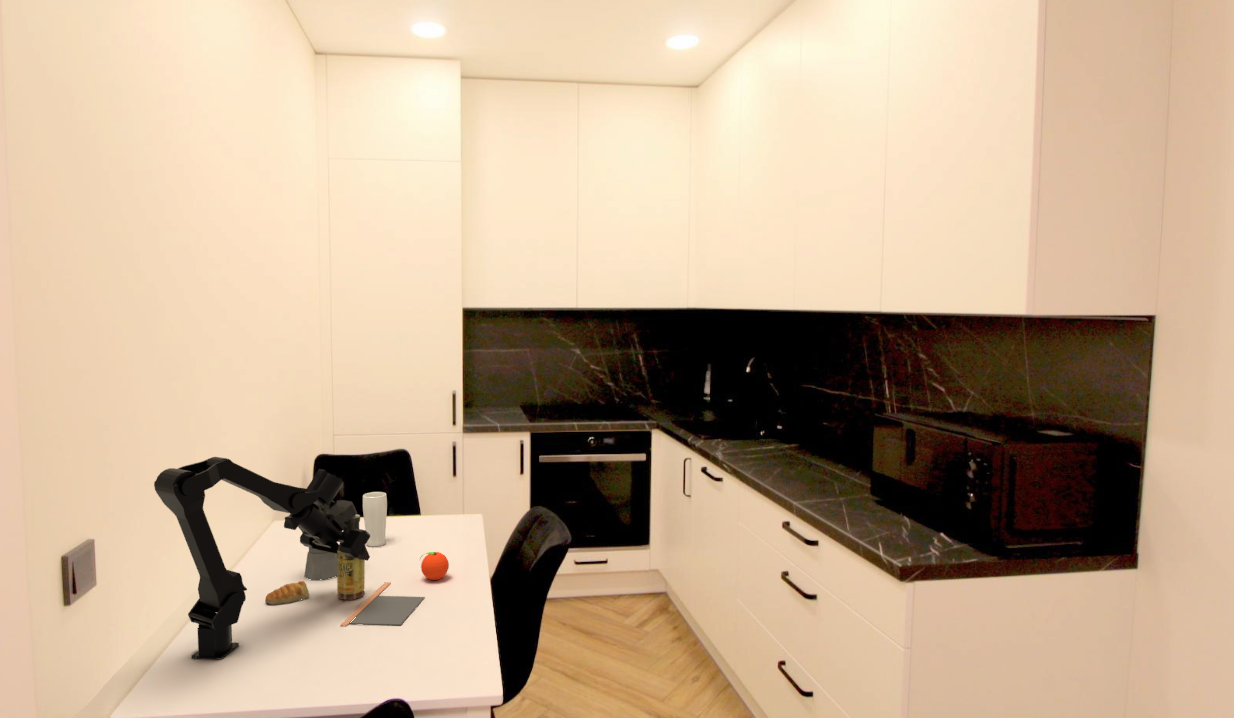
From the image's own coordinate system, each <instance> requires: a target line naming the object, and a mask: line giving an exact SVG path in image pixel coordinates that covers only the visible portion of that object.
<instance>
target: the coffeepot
mask: <svg viewBox="0 0 1234 718" xmlns="http://www.w3.org/2000/svg"><path fill="white" fill-rule="evenodd" d="M318 507H319V508H320V509H321V510H322V511H323V512H325V510H324V506H323V507H322V506H318ZM297 528H298V529H299V530H300V531H301V533H303V532H304V530H303V529H302V528H300V527H299V526H298V527H297ZM335 576H337V554H336V553H331V552H326V551H322V550H317V549H313V548H310V547H308V551H307V554H306V562H305V569H304V578H306V579H307V578H308V579H307V580H309V579H311V580H310V581H321V580H320V579H327V580H329V579H328V578H331V579H333V578H332V577H334V578H336V577H335Z"/></svg>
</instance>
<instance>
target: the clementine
mask: <svg viewBox="0 0 1234 718" xmlns="http://www.w3.org/2000/svg"><path fill="white" fill-rule="evenodd" d="M425 555H426V556H424V554H422V555H421V556H420V558H419V560H421V559H422V557H423V556H424V558H423V559H422V561H421V564H420V568H421V572H422V575H423V576H424V577H425V578H427V579H428V580H432V581H437V580H441V579H442V578H443V577H445V575H447V572H448V571H449V567H450V564H449V560H448V558H447V556H446V555H445V554H443V553H442V552H440V551H439V552H438V551H428V552H426V553H425Z"/></svg>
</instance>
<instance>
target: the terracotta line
mask: <svg viewBox="0 0 1234 718" xmlns="http://www.w3.org/2000/svg"><path fill="white" fill-rule="evenodd" d="M391 583H392V582H389V581H388V582H384V583H383V584H381V585H380V586H379V587H378V588H377V589H376V590H375V591H374V592H373V593H372V594H371V595H369V597H368V598H367V599H366V600H364V602H362V603H361V604H360V605H359V606H358V607H357V608H356V609H355V610H354V611H353V612H352V613H351V614H350V615H349V616H348V617H347V618H346V619H344V621H343V622H341V623H340V625H348V624H349V623H350V622H351V621H352V620H353V619H354V618H355V617H357V616H358V615H359V614H360V613H361V612H362V611H363V610H364V609H365V608H366V607H367V606H368V605H369V604H370V603H371V602H372V601H373V600H374V599H375V598H376V597H377V596H381V594H382V593H383V592H384V591H385V590H386V589H387V588H388V587H389V586H390V585H391ZM349 625H350V624H349ZM349 625H348V626H349Z"/></svg>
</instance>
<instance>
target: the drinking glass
mask: <svg viewBox="0 0 1234 718" xmlns="http://www.w3.org/2000/svg"><path fill="white" fill-rule="evenodd" d="M387 510H388V498H387V493H386V492H383V491H371V492H367V493H364V494H363V495H362V512H363V521H364V530H366V531H367V532H368V533H369V534H370V538H369V540H368V541H367V543H366V546H368V547H371V548H374V547H375V548H376V547H382V546H384V545H385V544H386V533H387V532H386V528H387V514H388V513H387V512H388V511H387Z"/></svg>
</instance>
